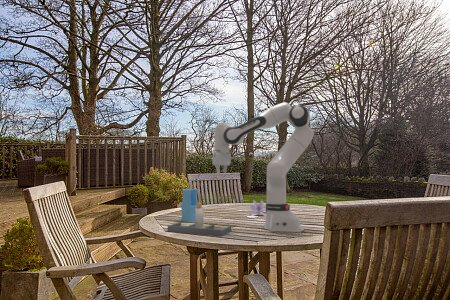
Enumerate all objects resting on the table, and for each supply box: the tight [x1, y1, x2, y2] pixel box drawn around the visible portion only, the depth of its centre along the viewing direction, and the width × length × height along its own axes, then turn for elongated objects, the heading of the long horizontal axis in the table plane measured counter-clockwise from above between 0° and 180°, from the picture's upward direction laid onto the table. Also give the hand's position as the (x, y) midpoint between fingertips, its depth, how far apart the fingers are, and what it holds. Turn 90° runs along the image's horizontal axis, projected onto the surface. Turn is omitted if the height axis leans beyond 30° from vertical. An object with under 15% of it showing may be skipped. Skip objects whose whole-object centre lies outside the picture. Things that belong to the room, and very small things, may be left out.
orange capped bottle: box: [195, 202, 206, 228], centre depth 194 cm, size 5×5×14 cm
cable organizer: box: [167, 221, 233, 237], centre depth 193 cm, size 32×14×3 cm, turn 67°
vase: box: [180, 188, 199, 223], centre depth 229 cm, size 8×8×20 cm
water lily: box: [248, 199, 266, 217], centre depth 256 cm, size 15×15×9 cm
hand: (221, 172), depth 217 cm, fingers open, 8 cm apart
